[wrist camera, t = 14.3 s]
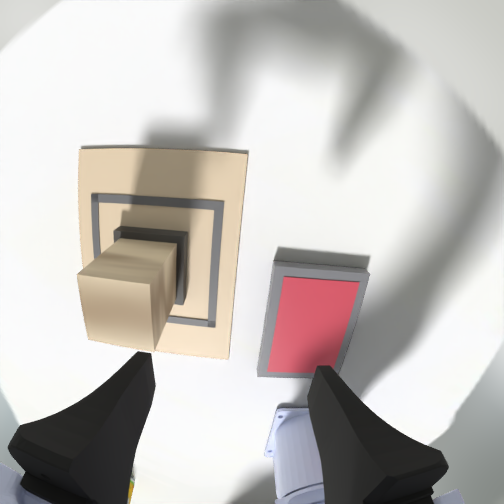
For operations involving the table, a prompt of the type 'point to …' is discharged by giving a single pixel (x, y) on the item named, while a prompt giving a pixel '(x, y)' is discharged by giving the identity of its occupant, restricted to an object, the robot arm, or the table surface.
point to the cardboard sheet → (173, 228)
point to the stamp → (134, 286)
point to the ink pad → (309, 318)
